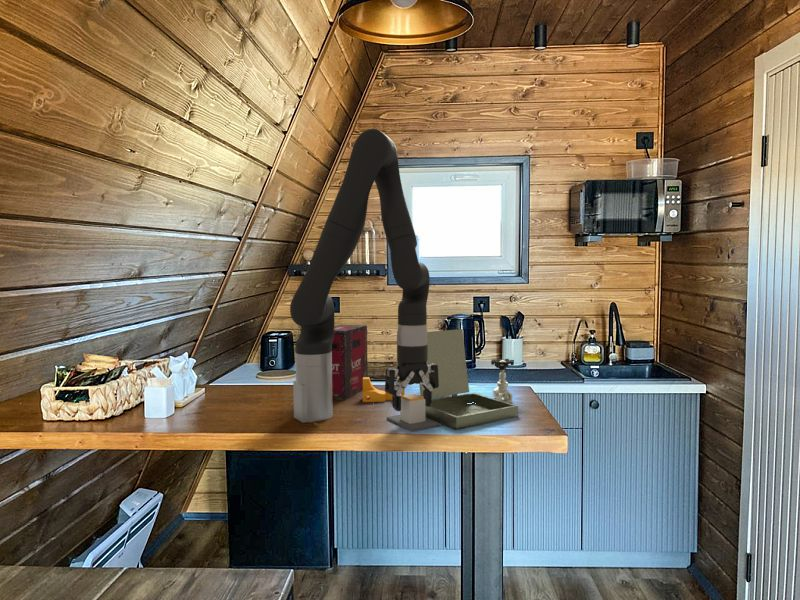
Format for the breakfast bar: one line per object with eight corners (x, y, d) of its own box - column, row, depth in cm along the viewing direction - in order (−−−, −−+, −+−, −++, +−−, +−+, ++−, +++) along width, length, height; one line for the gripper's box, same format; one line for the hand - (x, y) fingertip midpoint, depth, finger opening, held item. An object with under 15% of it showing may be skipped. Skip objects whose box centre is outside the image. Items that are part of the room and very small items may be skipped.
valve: (495, 406, 153) (495, 362, 152) (487, 400, 159) (487, 358, 159) (518, 405, 154) (518, 362, 153) (509, 399, 160) (509, 358, 160)
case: (456, 430, 131) (456, 383, 130) (407, 410, 149) (407, 369, 149) (518, 417, 141) (518, 374, 140) (465, 400, 159) (465, 362, 159)
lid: (415, 333, 148) (412, 333, 149) (422, 399, 146) (418, 399, 148) (462, 329, 156) (458, 329, 157) (469, 392, 154) (465, 392, 156)
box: (342, 386, 180) (341, 324, 178) (367, 388, 177) (367, 325, 175) (318, 397, 164) (316, 330, 163) (345, 400, 161) (344, 331, 160)
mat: (412, 431, 130) (412, 428, 130) (386, 419, 140) (386, 417, 140) (440, 425, 134) (440, 423, 134) (413, 414, 144) (413, 412, 144)
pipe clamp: (362, 402, 159) (362, 380, 158) (363, 399, 163) (363, 377, 163) (404, 402, 159) (404, 379, 158) (404, 398, 163) (404, 376, 163)
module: (409, 423, 134) (409, 399, 134) (400, 419, 138) (400, 395, 138) (425, 421, 136) (425, 396, 136) (415, 416, 140) (415, 393, 140)
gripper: (395, 347, 129) (395, 415, 130) (444, 342, 137) (444, 407, 138) (379, 343, 136) (379, 408, 137) (427, 338, 143) (427, 401, 144)
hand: (412, 408), depth 137 cm, fingers open, 8 cm apart
